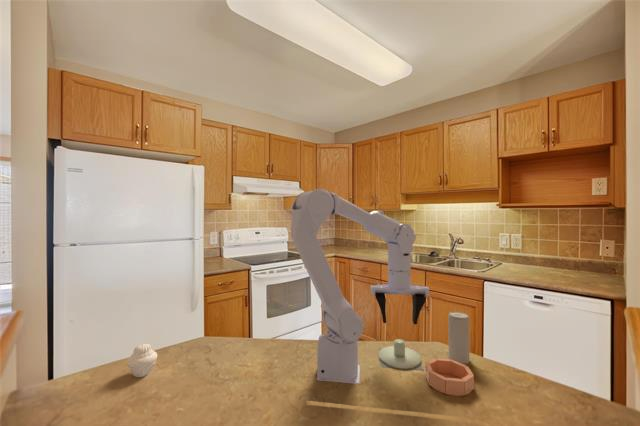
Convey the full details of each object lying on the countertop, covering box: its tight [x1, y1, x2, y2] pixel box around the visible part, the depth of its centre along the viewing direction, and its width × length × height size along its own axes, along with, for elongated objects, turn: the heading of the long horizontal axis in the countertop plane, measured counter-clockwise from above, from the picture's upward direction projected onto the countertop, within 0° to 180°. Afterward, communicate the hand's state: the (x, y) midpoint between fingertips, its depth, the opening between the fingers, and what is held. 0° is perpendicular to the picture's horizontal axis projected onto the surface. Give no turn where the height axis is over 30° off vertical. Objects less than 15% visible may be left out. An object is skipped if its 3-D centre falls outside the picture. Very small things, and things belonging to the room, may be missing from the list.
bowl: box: [425, 357, 475, 397], centre depth 63 cm, size 9×9×4 cm
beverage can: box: [447, 311, 470, 365], centre depth 74 cm, size 5×5×12 cm
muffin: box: [126, 343, 158, 378], centre depth 68 cm, size 6×6×7 cm
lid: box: [378, 338, 422, 370], centre depth 74 cm, size 10×10×4 cm
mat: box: [378, 347, 424, 371], centre depth 74 cm, size 10×10×1 cm
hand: (399, 322), depth 74 cm, fingers open, 7 cm apart
